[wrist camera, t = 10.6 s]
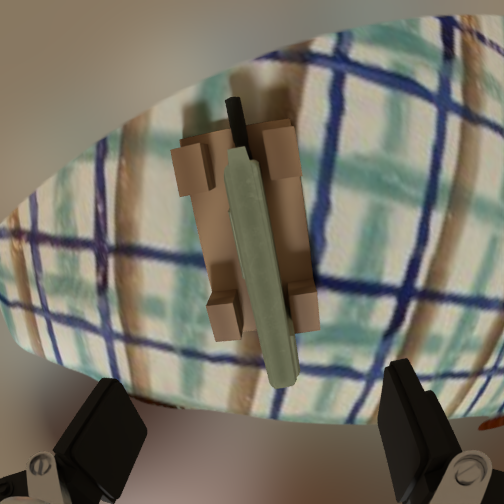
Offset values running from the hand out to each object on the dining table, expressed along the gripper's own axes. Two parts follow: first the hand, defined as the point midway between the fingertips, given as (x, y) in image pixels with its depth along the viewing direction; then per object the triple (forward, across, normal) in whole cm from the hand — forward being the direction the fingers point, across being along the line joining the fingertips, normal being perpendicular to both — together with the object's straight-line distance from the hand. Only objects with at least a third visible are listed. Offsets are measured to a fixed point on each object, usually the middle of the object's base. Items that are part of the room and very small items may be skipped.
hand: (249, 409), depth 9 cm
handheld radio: (+20, +1, -1) cm, 20 cm away
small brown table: (+21, +2, -1) cm, 21 cm away
